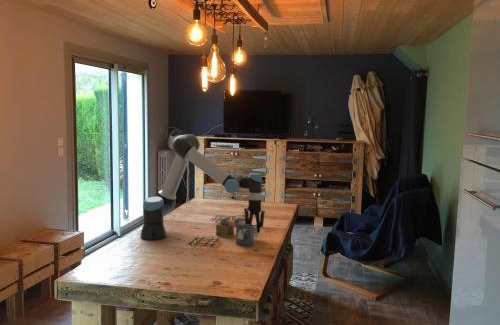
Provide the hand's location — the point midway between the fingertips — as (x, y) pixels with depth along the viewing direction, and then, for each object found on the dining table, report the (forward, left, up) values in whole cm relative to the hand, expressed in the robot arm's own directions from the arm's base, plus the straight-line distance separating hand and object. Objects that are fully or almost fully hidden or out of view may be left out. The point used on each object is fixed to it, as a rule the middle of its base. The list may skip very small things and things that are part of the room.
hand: (253, 237), depth 266 cm
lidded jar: (+20, +18, -2) cm, 27 cm away
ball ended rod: (-2, +15, +6) cm, 17 cm away
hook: (-7, 0, +3) cm, 8 cm away
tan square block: (0, +20, -2) cm, 20 cm away
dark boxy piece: (-11, 0, -2) cm, 11 cm away
